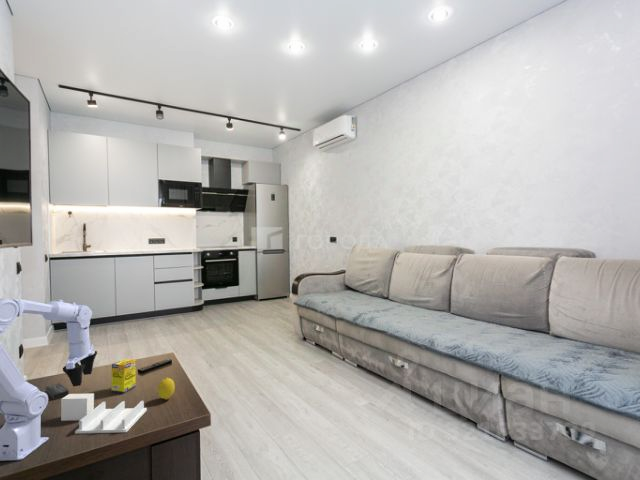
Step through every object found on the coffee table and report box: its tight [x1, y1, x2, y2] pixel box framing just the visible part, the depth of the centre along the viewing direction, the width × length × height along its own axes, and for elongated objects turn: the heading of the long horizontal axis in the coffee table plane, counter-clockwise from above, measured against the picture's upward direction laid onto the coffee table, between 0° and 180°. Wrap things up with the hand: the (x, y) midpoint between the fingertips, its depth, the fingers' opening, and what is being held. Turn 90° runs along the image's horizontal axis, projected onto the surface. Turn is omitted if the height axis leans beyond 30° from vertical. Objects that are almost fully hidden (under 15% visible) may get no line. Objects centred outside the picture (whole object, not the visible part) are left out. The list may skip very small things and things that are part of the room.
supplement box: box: [110, 358, 137, 394], centre depth 128 cm, size 6×6×11 cm
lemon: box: [157, 377, 176, 401], centre depth 120 cm, size 6×6×8 cm
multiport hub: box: [45, 382, 70, 401], centre depth 124 cm, size 4×11×2 cm, turn 53°
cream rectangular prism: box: [60, 393, 95, 422], centre depth 108 cm, size 4×8×7 cm, turn 93°
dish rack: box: [74, 400, 148, 435], centre depth 105 cm, size 13×15×4 cm
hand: (82, 379), depth 110 cm, fingers open, 7 cm apart
